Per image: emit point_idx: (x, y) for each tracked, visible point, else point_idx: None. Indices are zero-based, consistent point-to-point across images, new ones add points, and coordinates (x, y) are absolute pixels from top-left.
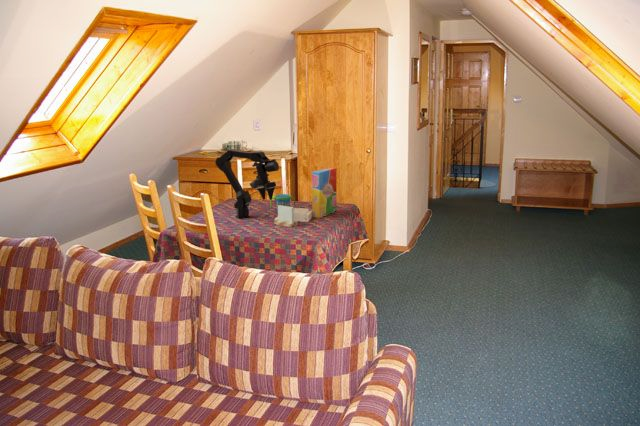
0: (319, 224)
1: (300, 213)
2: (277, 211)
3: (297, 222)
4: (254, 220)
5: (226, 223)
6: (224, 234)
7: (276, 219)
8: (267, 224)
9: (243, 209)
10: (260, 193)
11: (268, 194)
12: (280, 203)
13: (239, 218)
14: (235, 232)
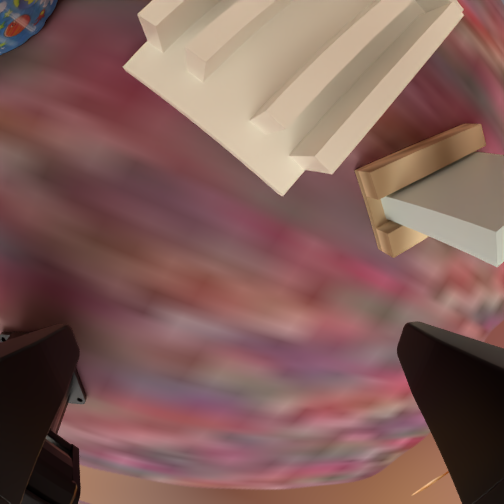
0: (488, 34)
1: (449, 30)
2: (3, 52)
3: (477, 126)
4: (170, 338)
5: (172, 468)
6: (353, 477)
7: (294, 181)
8: (347, 294)
9: (54, 419)
10: (20, 468)
11: (460, 449)
12: (6, 2)
13: (84, 401)
14: (360, 453)
